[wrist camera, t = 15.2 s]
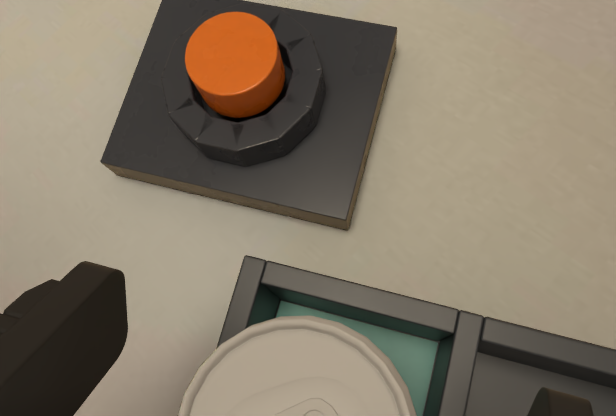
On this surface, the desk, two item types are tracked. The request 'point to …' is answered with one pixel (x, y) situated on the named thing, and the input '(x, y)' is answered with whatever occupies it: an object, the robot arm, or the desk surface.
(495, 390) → the divided tray
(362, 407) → the beverage can
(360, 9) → the desk surface
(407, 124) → the desk surface
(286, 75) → the panel
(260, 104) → the button
